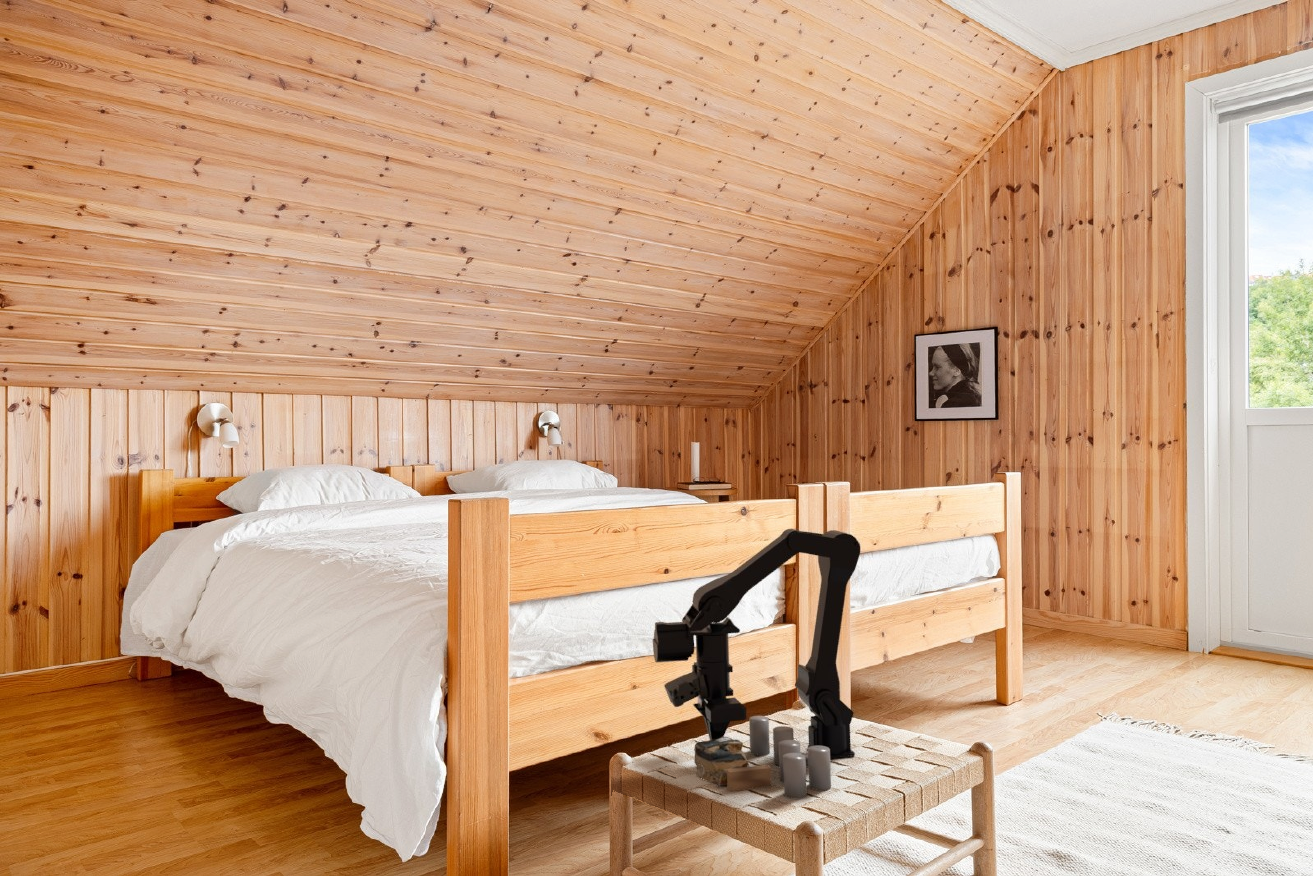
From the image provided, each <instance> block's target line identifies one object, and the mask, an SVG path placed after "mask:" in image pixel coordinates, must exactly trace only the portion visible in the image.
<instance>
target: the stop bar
mask: <svg viewBox="0 0 1313 876" xmlns="http://www.w3.org/2000/svg"><path fill="white" fill-rule="evenodd" d="M771 770H772V768H771V766H769V765H768V764H761V765H752V766H749V767H742V768H733V769H727V784H726V787H727V789H728V791H729V792H735V791H743V790H750V789H751V790H752V789H760V788H768V787H772V772H771Z"/></svg>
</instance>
